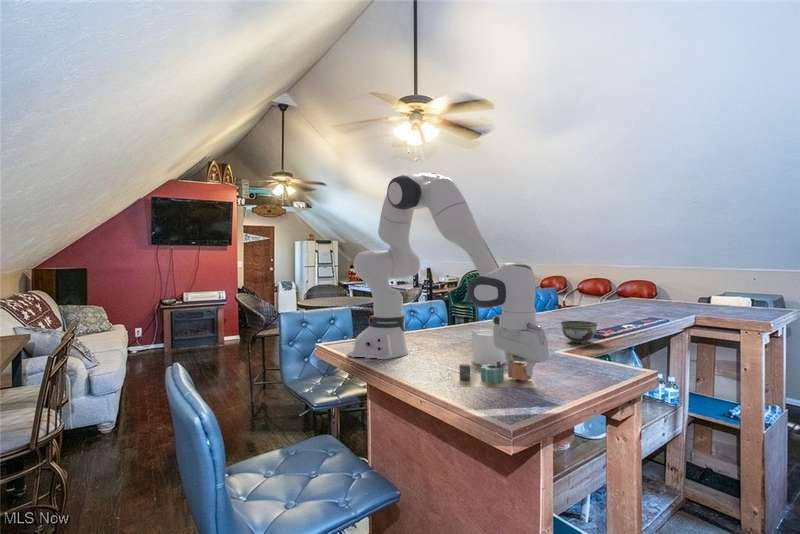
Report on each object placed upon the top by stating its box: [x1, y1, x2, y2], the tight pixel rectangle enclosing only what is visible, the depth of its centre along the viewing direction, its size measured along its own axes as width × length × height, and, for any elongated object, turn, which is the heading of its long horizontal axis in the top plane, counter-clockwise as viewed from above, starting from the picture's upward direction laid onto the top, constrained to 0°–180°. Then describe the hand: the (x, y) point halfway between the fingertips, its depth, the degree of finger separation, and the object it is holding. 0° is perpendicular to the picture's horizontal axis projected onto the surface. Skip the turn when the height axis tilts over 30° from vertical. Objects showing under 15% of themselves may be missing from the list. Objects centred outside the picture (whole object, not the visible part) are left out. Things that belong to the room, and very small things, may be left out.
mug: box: [471, 329, 505, 366], centre depth 129 cm, size 14×10×11 cm
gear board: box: [451, 363, 539, 389], centre depth 108 cm, size 22×12×5 cm, turn 83°
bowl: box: [560, 320, 598, 344], centre depth 158 cm, size 14×13×8 cm
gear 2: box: [507, 360, 533, 380], centre depth 107 cm, size 6×6×4 cm
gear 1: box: [480, 361, 505, 383], centre depth 108 cm, size 6×6×5 cm
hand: (519, 371), depth 107 cm, fingers closed on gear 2, 6 cm apart
